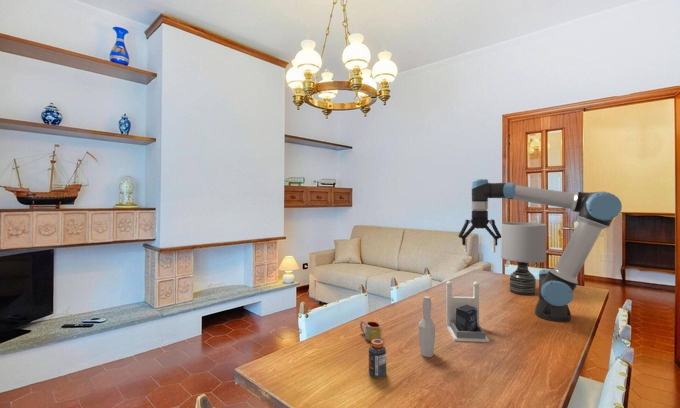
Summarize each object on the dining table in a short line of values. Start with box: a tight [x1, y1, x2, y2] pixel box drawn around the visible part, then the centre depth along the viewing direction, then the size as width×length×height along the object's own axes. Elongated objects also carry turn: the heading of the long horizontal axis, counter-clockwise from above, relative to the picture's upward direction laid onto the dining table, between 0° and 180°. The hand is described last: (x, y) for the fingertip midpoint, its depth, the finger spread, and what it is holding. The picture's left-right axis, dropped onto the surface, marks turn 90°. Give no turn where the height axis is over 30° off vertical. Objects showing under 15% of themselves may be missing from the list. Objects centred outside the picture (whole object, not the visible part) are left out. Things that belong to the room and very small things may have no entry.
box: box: [456, 305, 477, 332], centre depth 142 cm, size 8×6×11 cm
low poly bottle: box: [418, 295, 436, 358], centre depth 124 cm, size 6×6×22 cm
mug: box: [359, 320, 383, 343], centre depth 140 cm, size 12×7×7 cm, turn 33°
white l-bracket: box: [445, 280, 490, 343], centre depth 142 cm, size 15×16×21 cm
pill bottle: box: [368, 339, 387, 379], centre depth 111 cm, size 6×6×11 cm
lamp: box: [500, 221, 547, 297], centre depth 201 cm, size 24×24×42 cm
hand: (479, 251), depth 165 cm, fingers open, 13 cm apart
